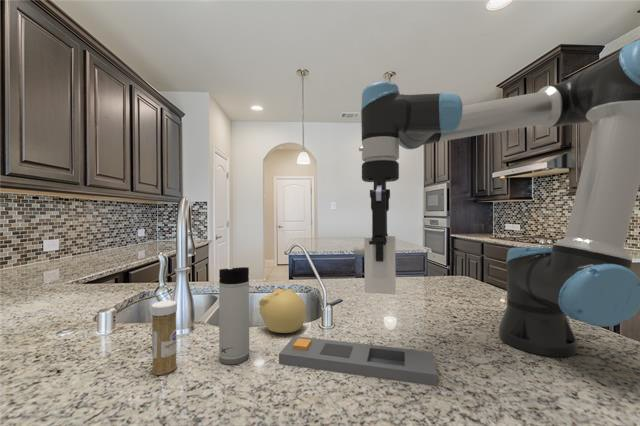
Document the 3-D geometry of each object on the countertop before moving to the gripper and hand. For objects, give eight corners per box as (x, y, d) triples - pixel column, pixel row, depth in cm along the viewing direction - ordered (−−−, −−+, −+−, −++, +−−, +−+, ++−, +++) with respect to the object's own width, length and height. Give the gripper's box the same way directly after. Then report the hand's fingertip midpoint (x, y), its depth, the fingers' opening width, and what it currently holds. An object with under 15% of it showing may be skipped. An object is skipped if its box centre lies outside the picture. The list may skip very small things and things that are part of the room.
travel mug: (222, 368, 60) (222, 269, 60) (217, 355, 66) (216, 264, 66) (252, 361, 63) (252, 267, 63) (245, 349, 69) (245, 262, 69)
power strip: (432, 366, 61) (432, 347, 61) (437, 391, 52) (437, 370, 52) (294, 349, 69) (294, 332, 69) (278, 368, 60) (278, 349, 60)
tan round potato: (286, 318, 89) (286, 282, 89) (314, 329, 81) (314, 289, 81) (253, 328, 81) (253, 289, 81) (280, 342, 73) (280, 298, 73)
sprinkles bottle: (173, 374, 58) (173, 305, 58) (148, 377, 57) (147, 307, 57) (179, 362, 63) (179, 298, 63) (155, 365, 62) (155, 300, 62)
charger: (395, 288, 63) (395, 236, 63) (395, 294, 58) (395, 238, 58) (355, 286, 65) (355, 235, 65) (352, 291, 60) (352, 237, 60)
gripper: (365, 168, 71) (366, 266, 71) (356, 154, 54) (356, 283, 54) (398, 167, 69) (398, 267, 69) (399, 152, 52) (400, 286, 52)
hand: (380, 274), depth 62 cm, fingers closed on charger, 5 cm apart
